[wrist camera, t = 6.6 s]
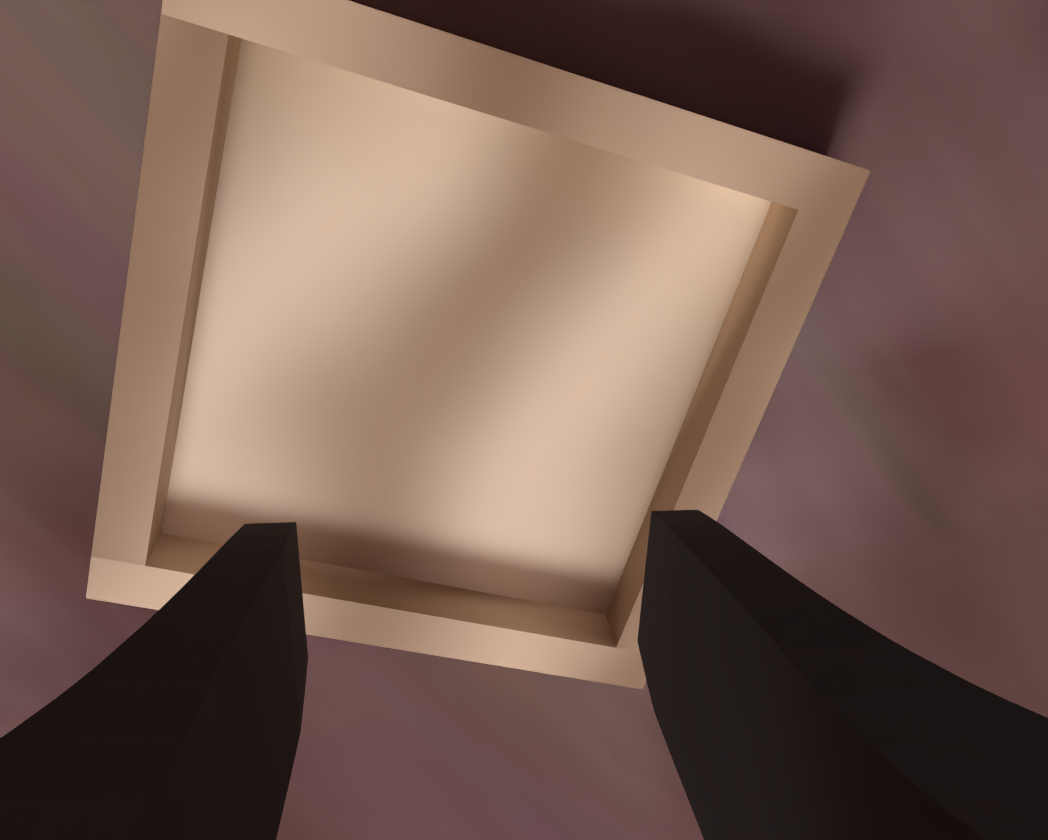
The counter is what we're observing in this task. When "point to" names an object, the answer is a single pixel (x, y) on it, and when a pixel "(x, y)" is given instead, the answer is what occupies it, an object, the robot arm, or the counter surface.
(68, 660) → the counter surface
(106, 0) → the counter surface
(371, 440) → the tray
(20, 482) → the counter surface
